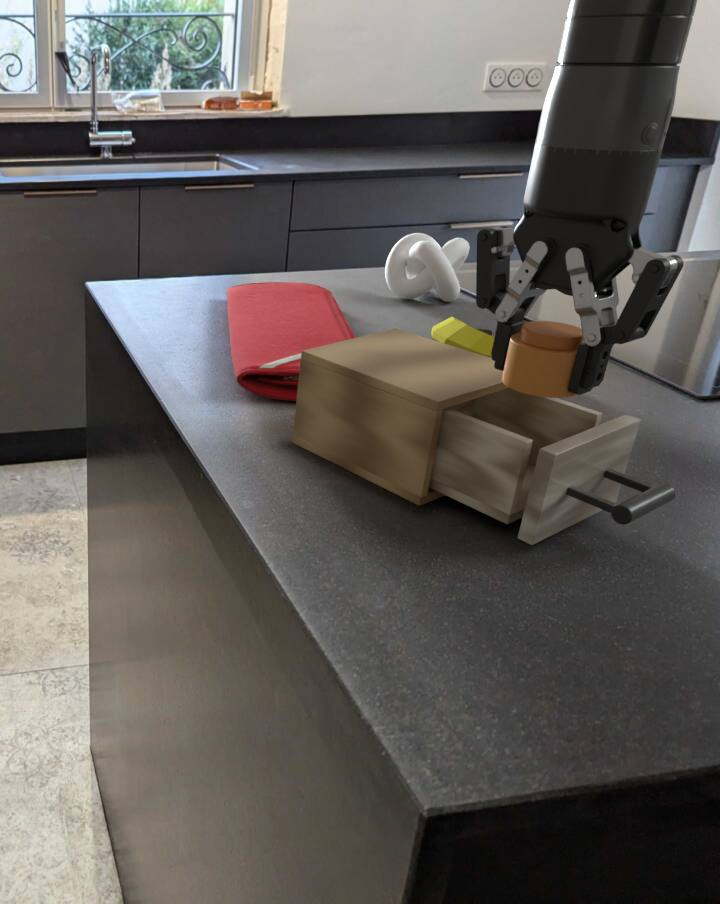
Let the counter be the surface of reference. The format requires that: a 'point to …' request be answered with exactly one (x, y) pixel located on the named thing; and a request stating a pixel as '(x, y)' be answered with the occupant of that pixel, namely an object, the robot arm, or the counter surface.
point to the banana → (464, 336)
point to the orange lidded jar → (542, 359)
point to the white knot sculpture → (425, 266)
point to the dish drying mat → (279, 333)
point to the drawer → (539, 463)
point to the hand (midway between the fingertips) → (541, 378)
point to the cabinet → (386, 404)
